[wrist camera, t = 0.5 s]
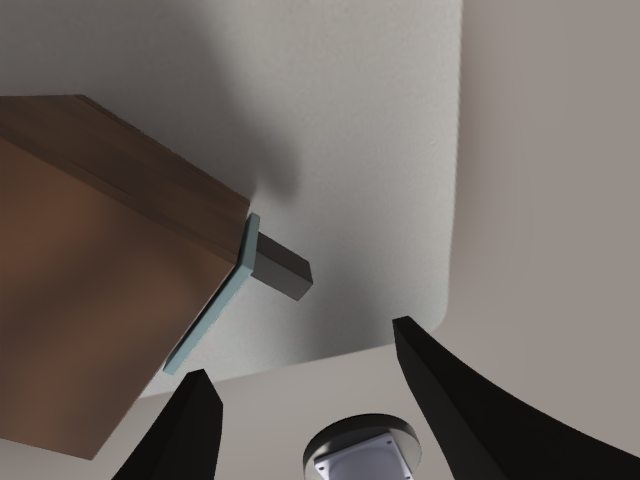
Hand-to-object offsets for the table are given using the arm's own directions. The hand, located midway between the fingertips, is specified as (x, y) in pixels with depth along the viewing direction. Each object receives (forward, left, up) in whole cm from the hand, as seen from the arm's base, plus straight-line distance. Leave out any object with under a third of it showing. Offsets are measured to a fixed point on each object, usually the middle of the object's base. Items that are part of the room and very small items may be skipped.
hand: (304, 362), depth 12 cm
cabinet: (+5, +10, -10) cm, 15 cm away
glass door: (0, +3, -10) cm, 10 cm away
